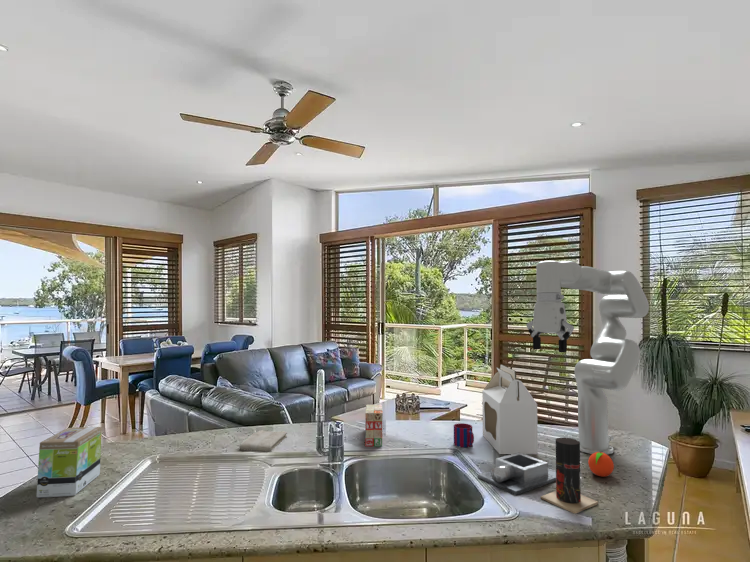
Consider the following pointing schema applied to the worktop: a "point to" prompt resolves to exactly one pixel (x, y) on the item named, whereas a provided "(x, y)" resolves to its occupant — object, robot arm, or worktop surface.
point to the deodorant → (568, 470)
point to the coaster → (573, 508)
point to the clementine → (600, 464)
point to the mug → (463, 435)
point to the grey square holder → (519, 473)
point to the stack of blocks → (373, 425)
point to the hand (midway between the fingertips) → (549, 350)
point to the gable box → (509, 414)
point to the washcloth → (263, 440)
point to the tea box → (69, 461)
